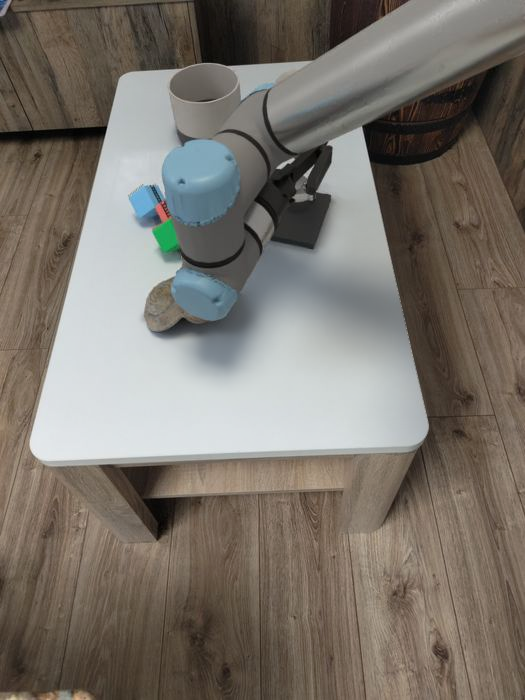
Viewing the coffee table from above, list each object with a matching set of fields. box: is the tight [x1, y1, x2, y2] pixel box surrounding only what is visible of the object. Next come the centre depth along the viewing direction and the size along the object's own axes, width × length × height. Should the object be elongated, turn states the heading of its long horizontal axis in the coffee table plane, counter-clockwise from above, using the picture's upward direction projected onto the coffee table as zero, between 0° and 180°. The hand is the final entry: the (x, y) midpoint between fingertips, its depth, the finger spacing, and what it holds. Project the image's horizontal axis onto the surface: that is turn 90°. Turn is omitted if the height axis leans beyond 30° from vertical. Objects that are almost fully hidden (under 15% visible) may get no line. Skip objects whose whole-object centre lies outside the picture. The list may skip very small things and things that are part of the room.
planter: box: [167, 62, 242, 145], centre depth 93 cm, size 13×13×10 cm
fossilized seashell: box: [143, 275, 211, 333], centre depth 73 cm, size 11×11×7 cm
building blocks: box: [127, 183, 179, 254], centre depth 81 cm, size 8×8×12 cm
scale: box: [270, 191, 332, 250], centre depth 83 cm, size 14×13×3 cm
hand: (310, 117), depth 76 cm, fingers closed on chalice, 5 cm apart
